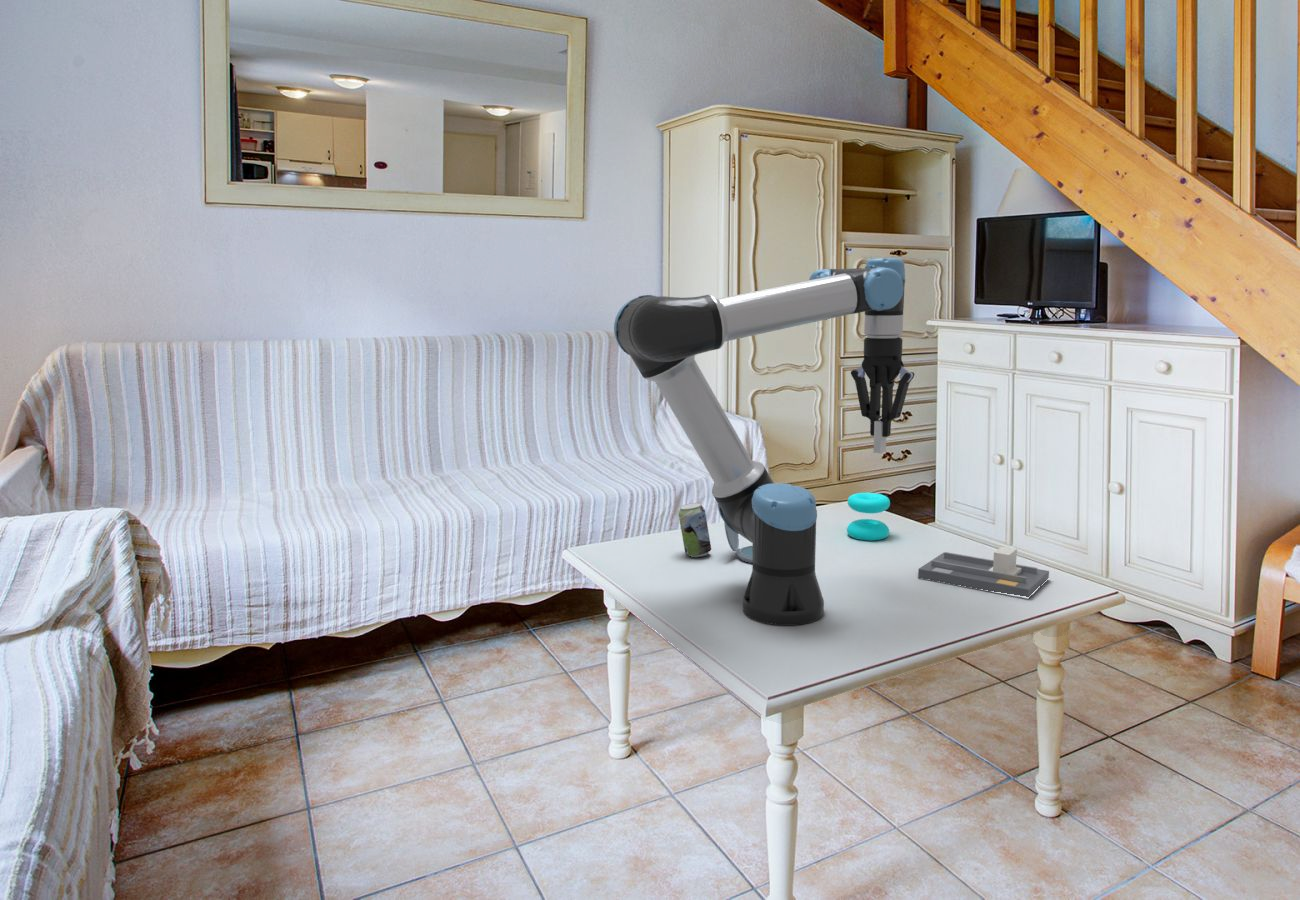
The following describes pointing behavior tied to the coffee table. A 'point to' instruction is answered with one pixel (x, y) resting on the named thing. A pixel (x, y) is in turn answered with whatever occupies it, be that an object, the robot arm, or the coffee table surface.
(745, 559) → the pocket watch
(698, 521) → the beverage can
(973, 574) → the switch panel
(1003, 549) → the switch tab
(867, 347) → the robot arm
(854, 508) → the donuts
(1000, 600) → the coffee table surface
